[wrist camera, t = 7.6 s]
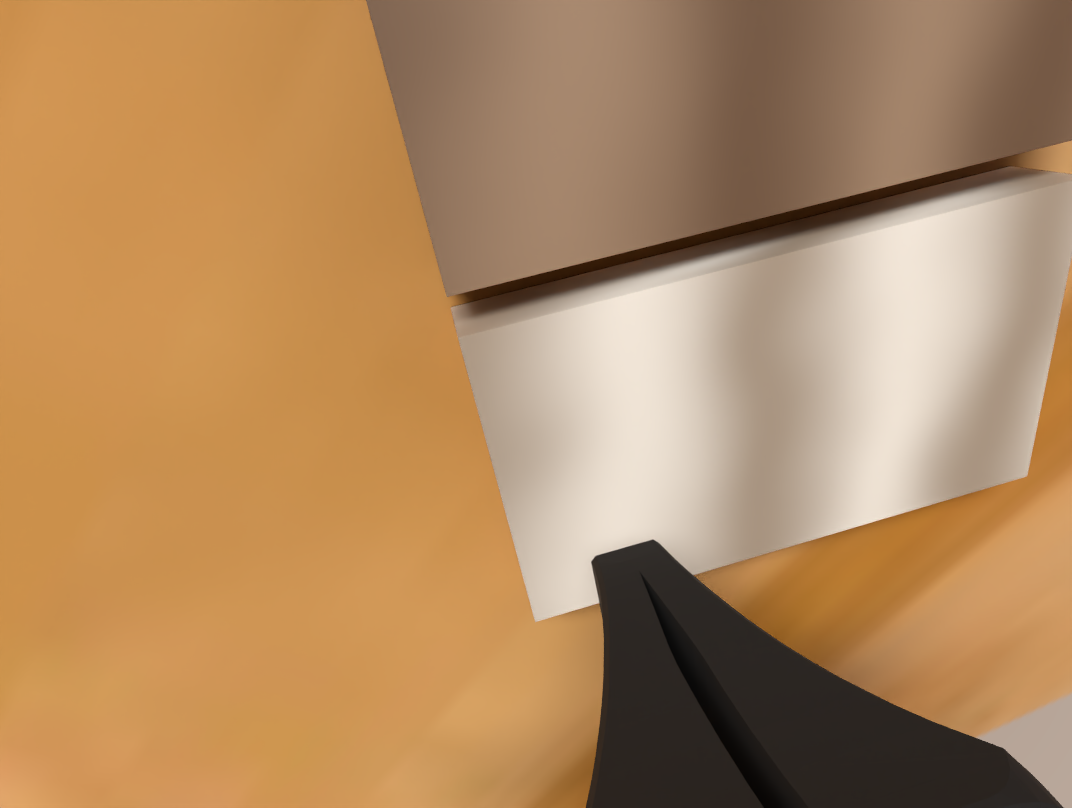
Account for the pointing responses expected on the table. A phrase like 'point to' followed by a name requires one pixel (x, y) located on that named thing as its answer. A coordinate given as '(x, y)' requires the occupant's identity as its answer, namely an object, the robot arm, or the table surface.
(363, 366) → the table surface
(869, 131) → the walnut planks
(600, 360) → the ash plank
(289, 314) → the table surface
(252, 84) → the table surface
